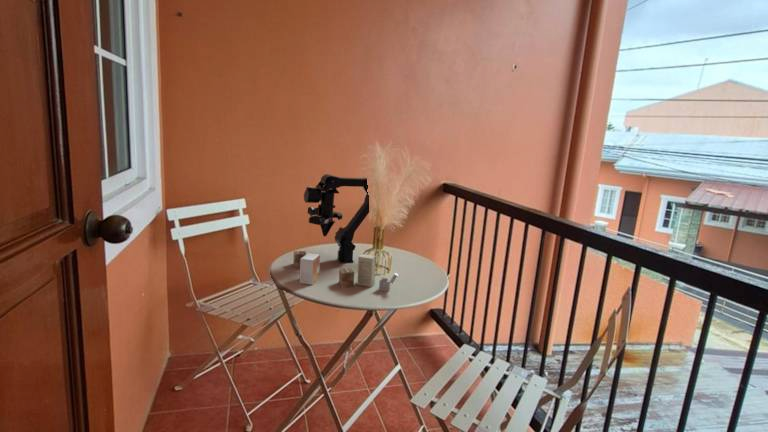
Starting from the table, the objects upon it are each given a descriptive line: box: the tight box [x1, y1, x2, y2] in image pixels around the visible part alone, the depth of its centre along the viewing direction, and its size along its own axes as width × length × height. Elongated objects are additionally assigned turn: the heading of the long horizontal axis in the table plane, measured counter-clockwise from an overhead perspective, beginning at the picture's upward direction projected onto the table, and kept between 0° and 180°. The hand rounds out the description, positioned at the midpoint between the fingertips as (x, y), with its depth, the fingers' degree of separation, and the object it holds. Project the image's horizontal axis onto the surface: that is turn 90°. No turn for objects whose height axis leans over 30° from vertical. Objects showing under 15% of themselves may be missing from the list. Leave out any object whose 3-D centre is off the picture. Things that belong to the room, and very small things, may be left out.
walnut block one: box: [338, 267, 355, 288], centre depth 160 cm, size 5×5×6 cm
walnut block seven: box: [293, 250, 307, 269], centre depth 177 cm, size 5×5×6 cm
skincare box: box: [357, 253, 376, 288], centre depth 161 cm, size 6×4×12 cm
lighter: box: [378, 272, 399, 293], centre depth 157 cm, size 7×2×8 cm, turn 75°
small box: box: [299, 252, 321, 285], centre depth 161 cm, size 8×6×10 cm
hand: (324, 236), depth 180 cm, fingers closed
